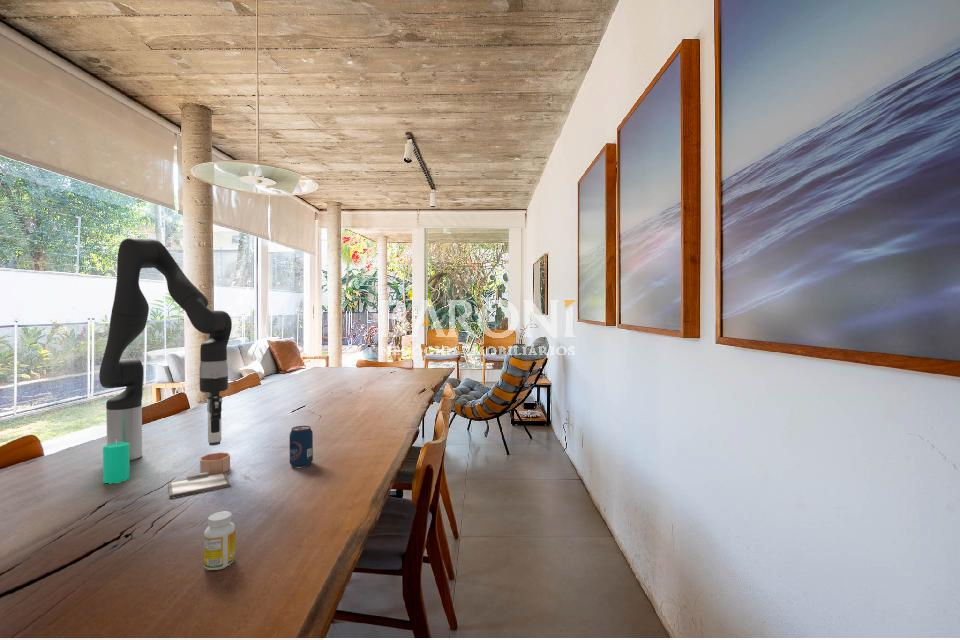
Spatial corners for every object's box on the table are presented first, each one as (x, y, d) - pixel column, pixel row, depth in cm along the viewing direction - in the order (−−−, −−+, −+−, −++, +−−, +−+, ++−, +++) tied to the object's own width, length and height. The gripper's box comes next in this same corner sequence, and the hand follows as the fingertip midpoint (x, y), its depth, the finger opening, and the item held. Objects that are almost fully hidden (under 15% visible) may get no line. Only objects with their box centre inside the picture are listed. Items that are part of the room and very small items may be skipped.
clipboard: (168, 485, 126) (168, 479, 126) (224, 474, 134) (224, 468, 134) (169, 498, 117) (169, 491, 117) (229, 486, 126) (229, 480, 126)
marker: (207, 443, 138) (206, 405, 138) (221, 441, 140) (220, 403, 140) (208, 446, 135) (207, 407, 135) (222, 444, 137) (222, 405, 137)
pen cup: (199, 469, 138) (199, 455, 138) (227, 464, 143) (227, 451, 143) (201, 477, 132) (201, 462, 132) (231, 471, 137) (231, 457, 137)
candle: (114, 485, 126) (114, 443, 126) (97, 483, 127) (97, 441, 127) (135, 477, 132) (134, 437, 132) (118, 475, 133) (118, 435, 133)
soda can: (284, 466, 141) (284, 429, 141) (301, 460, 148) (300, 424, 148) (301, 469, 139) (301, 431, 139) (317, 462, 145) (317, 426, 145)
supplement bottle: (209, 575, 83) (209, 525, 83) (199, 565, 87) (199, 516, 87) (240, 563, 88) (239, 515, 87) (229, 553, 91) (228, 507, 91)
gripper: (197, 373, 140) (198, 428, 141) (201, 379, 129) (202, 438, 129) (224, 371, 145) (225, 424, 145) (231, 377, 133) (231, 434, 134)
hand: (214, 430), depth 137 cm, fingers closed on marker, 3 cm apart
